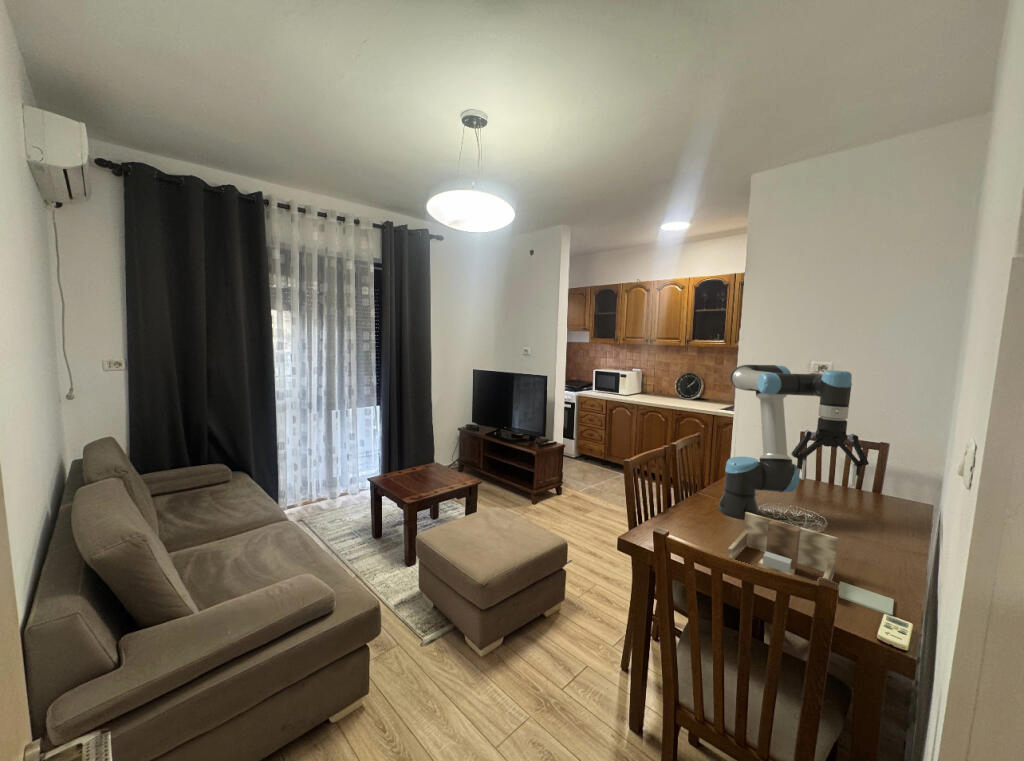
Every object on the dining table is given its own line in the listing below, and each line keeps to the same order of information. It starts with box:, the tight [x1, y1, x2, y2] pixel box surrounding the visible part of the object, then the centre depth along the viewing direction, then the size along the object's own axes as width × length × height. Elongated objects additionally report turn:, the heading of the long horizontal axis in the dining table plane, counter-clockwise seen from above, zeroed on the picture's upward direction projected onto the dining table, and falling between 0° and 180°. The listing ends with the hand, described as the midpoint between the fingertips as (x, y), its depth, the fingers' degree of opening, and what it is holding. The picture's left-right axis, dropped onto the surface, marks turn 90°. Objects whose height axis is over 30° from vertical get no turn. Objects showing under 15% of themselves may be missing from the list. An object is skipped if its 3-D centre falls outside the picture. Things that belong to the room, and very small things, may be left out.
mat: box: [838, 581, 895, 616], centre depth 117 cm, size 12×9×1 cm
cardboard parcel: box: [766, 519, 801, 574], centre depth 133 cm, size 8×4×14 cm, turn 45°
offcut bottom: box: [757, 558, 796, 577], centre depth 129 cm, size 9×4×3 cm, turn 44°
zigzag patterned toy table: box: [727, 512, 839, 581], centre depth 131 cm, size 26×19×12 cm
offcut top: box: [762, 551, 792, 573], centre depth 129 cm, size 7×4×3 cm, turn 48°
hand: (826, 481), depth 135 cm, fingers open, 13 cm apart
